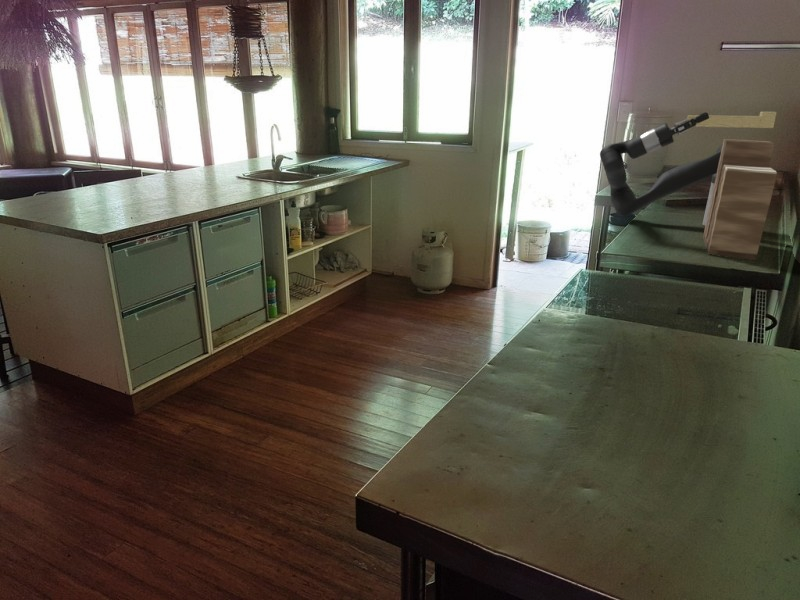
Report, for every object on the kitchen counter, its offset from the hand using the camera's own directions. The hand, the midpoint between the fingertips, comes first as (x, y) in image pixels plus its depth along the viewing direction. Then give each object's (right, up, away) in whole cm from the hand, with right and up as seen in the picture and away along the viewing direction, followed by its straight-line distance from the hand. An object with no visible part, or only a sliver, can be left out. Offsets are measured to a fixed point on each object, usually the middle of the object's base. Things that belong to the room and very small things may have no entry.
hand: (707, 115), depth 198 cm
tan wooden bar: (+6, -4, -1) cm, 8 cm away
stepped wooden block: (+9, -46, +4) cm, 47 cm away
